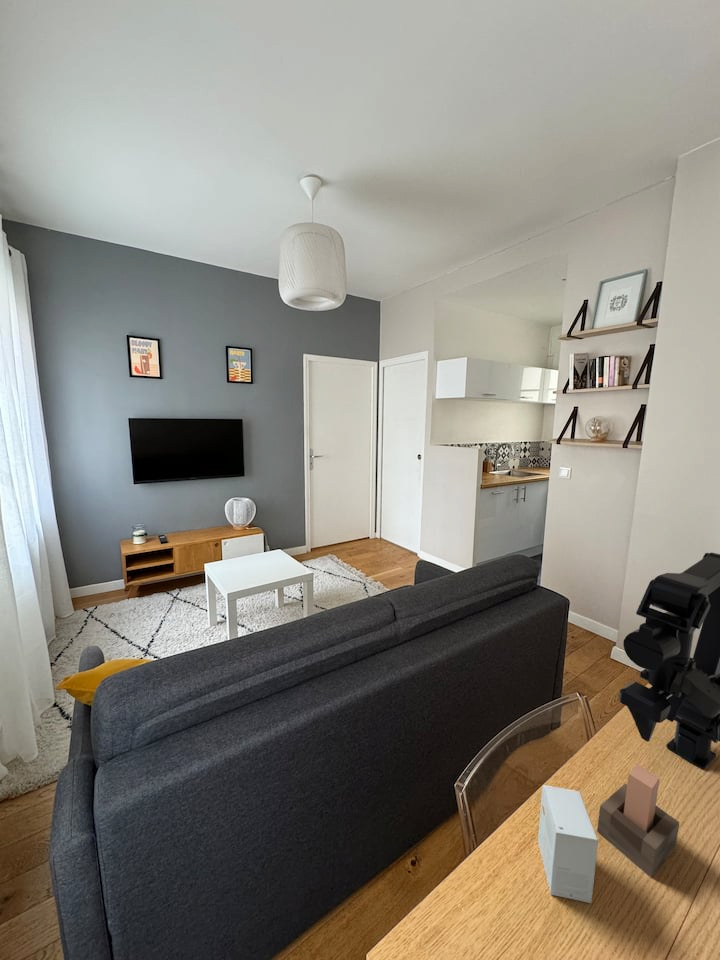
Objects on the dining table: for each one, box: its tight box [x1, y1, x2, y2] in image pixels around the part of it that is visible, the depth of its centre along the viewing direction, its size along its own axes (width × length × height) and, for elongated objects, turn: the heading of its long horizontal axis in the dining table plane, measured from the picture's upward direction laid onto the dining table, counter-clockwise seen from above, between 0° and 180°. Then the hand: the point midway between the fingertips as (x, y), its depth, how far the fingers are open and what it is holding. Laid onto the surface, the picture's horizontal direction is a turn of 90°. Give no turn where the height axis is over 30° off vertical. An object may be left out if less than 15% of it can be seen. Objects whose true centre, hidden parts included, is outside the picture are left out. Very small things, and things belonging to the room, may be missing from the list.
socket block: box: [596, 783, 680, 878], centre depth 66 cm, size 8×8×5 cm
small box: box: [537, 784, 599, 904], centre depth 61 cm, size 8×6×10 cm
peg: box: [624, 763, 660, 833], centre depth 65 cm, size 3×3×11 cm
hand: (657, 729), depth 72 cm, fingers open, 9 cm apart
